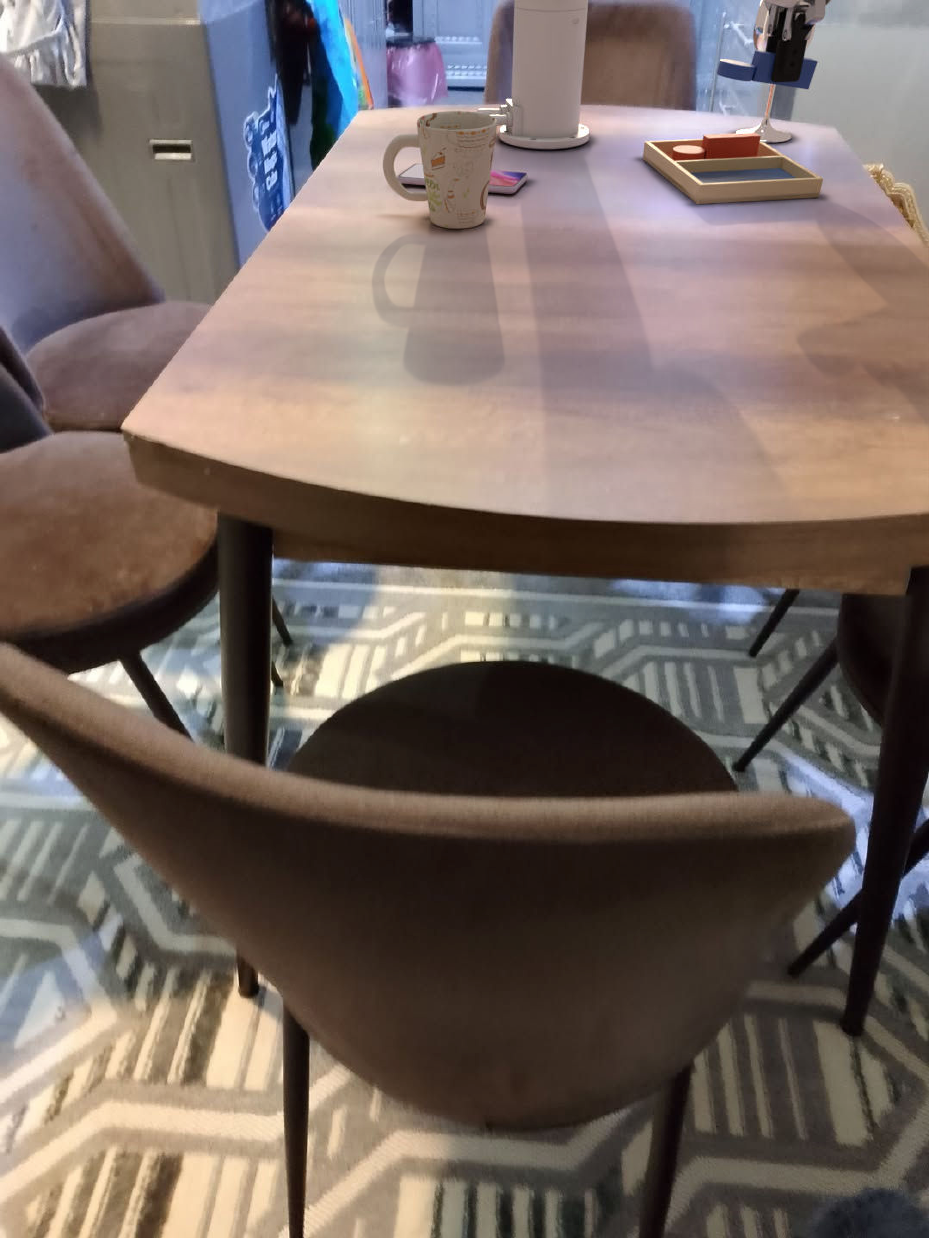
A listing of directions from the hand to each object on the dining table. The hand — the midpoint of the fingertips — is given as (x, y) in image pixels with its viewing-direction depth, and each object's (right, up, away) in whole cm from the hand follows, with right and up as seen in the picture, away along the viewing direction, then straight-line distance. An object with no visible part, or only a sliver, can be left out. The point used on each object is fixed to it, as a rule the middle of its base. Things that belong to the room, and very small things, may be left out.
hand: (779, 78), depth 103 cm
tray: (-3, -6, +11) cm, 13 cm away
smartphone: (-36, -8, +9) cm, 38 cm away
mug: (-39, -17, -1) cm, 42 cm away
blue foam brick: (-2, 0, 0) cm, 2 cm away
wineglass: (+7, +7, +26) cm, 28 cm away
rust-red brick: (-4, -2, +14) cm, 15 cm away
